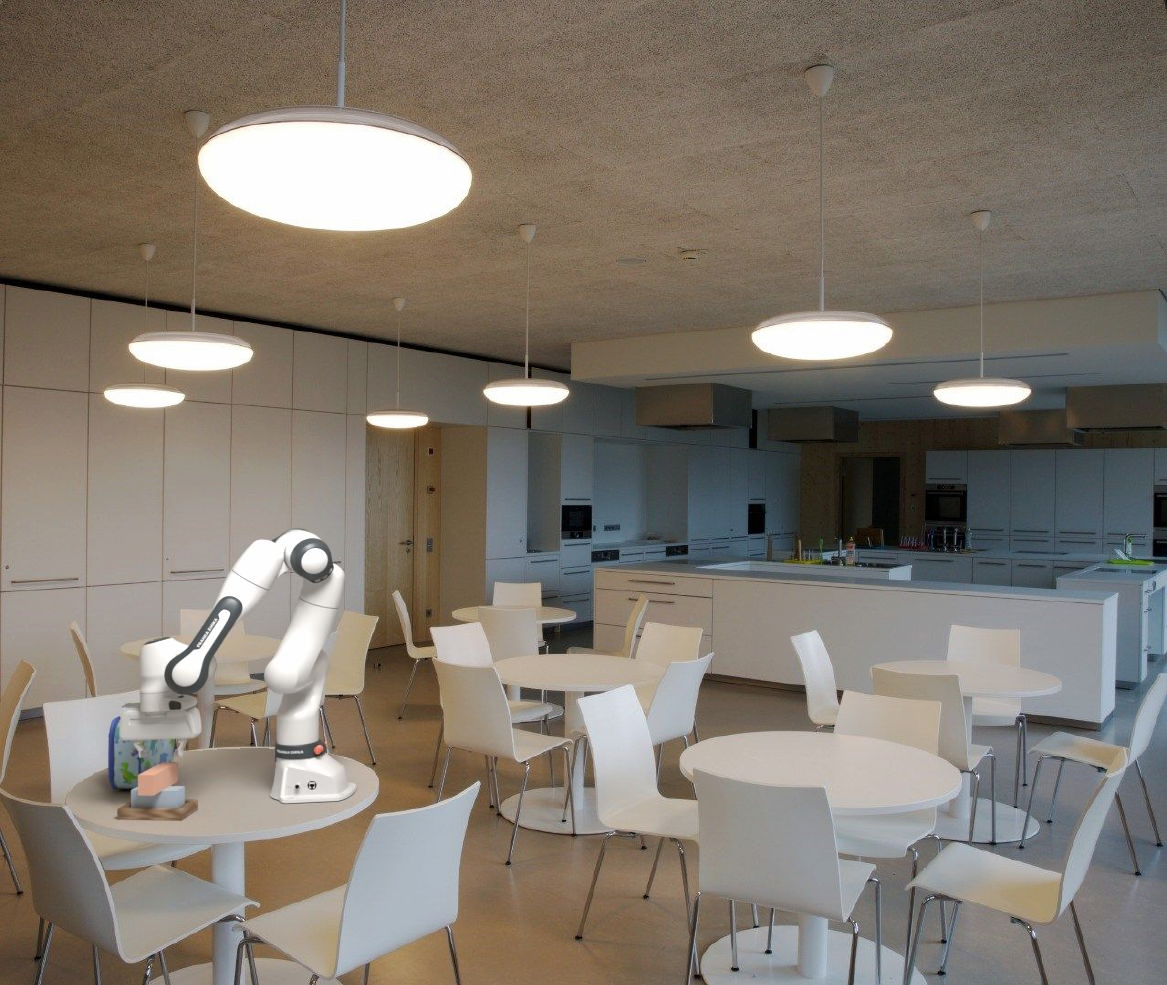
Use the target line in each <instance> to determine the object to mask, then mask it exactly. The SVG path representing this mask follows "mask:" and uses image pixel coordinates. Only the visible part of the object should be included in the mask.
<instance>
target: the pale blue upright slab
mask: <svg viewBox="0 0 1167 985" xmlns="http://www.w3.org/2000/svg"><path fill="white" fill-rule="evenodd" d="M185 799H186V786H184V785H182V786H181V785H171V786H169V787H168V788H166V789H164V790H162V791H161V792H159V793H157V794H156V795H154V796H144V795H138V787H136V788H134V789H130V802H131V807H150V808H179V807H181V806H182V805H184V804H185Z"/></svg>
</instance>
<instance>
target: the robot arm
mask: <svg viewBox="0 0 1167 985" xmlns="http://www.w3.org/2000/svg"><path fill="white" fill-rule="evenodd" d="M287 571H293V572H294V573H296V574H297V575H298V576H299V577H301V578H302V587H301V589H300V593H299V595H298V599H297V602H296V605H295V609H294V611H293V614H292V618H291V620H290V623H289V626H288V628H287V630H286V632H285V634H284V635H283V638H282V639H281V641H280V644H279V645H278V647H277V649H276V651H275V654H274V655H273V657H272V659H271V660H270V661H269V662H268V664H267V665H266V667H265V669H264V674H263V679H264V683H265V685H266V687H267V688H268V689H269V690H271V691H272V692H273V693H275V694H279V695H280V694H281V695H282V697H281V702H280V705H279V707H278V709H277V712H276V741H275V742H274V763H275V769H274V777H273V781H272V782H273V783H272V787H271V791H270V793H269V796H270V797H271V798H272V799H275V800H278V801H279V802H280V803H281V804H300V803H319V802H321V803H322V802H323V803H324V802H338V801H342V800H345V799H347V798H349V797H351V796H352V795H353V794H355V792H356V790H357V784H356V783H355V782H349V777H348V772H347V769H346V766H344V765H343V764H341V763H340V762H339V761H338V760H336V759H335V758H334V757H332V756H331V755H329V754H328V753H327V746H328V741H327V740H326V741H323V740H322V739H320V736H319V735H320V708H321V701H322V696H323V690H324V686H325V679H326V676H327V674H328V671H329V668H330V658H329V655H328V654H327V653H326V651H324V649H323V647H324V645H325V644H326V642H327V640H328V639H329V637H330V636H331V634H332V631H333V629H334V625H335V621H336V618H337V615H338V613H339V609H340V605H341V603H342V598H343V594H344V589H345V579H346V574H345V571H344V570H343V568H342V567H340V566H339V565H338V564H336V563H334V561H333V557H332V552H331V549H330V547H329V545H328V544H327V543H326V542H325V541H324V540H322V539H321V538H320V537H319V536H318V535H317V534H315V533H312V532H310V531H308V530H307V529H304V528H302V527H301V528H299V527H294V528H289V529H287V530H285V531H284V532H282V533H281V534H280V535H278V536H276V537H274V538H273V539H272V540H269V539H262V538H261V539H257V540H255V541H253V542H252V543H251V544H250V545H249V546H248V547H247V548H246V549H245V550H244V552H243V553H242V554H241V555H240V557H239V558H238V559H237V560H236V562H235V563H234V565H233V566H232V568H231V569H230V571H228V574H227V576H226V577H225V580H224V581H223V584H222V586H221V587H220V590H219V593H218V595H217V597H216V600H215V602H214V604H213V607H212V609H211V611H210V614H209V616H208V617H207V618H206V620H205V621H204V623H203V625H202V626H201V627H200V629H199V630H198V632H197V633H196V635H195V636H194V638H193V639H192V641H191V642H190V643H189V644H186V643H183V642H180V641H178V640H177V639H175V638H173V637H172V636H164V637H163V636H162V637H159V638H155V639H152V640H148V641H146V642H145V643H144V644H143V645H142V646H141V647H140V651H139V655H138V656H139V657H138V676H139V677H138V678H139V679H140V688H139V702H133V703H132V702H127V703H125V704H124V705H122V706H121V707H120V709H119V716H120V718H121V719H120V727H119V737H120V738H121V740H122V741H129V740H134V746H135V747H136V749H137V750H138V751H139V758H145V757H147V756H148V753H147V752H148V749H144V747H143V745H142V743H143V740H159V739H175V740H177V741H178V742H177V743H178V744H179V746H178V748H176V749H175V748H174V757H183V756H184V748H185V747H186V745H187V742H188V739H189V740H190V739H195V738H196V737H199V736H200V734H201V733H202V719H201V713H200V711H199V709H198V708H197V707H196V706H197V705H198V698H197V697H196V696H192V694H195V693H197V692H199V691H200V690H202V688H203V687H204V686H205V684H206V683H207V682H208V681H210V679H211V678H212V677H214V676H213V675H214V674H215V672H216V670H217V659H216V657H215V655H216V654H217V651H218V650H219V648H220V647H221V645H222V644H223V643H224V641H225V639H226V638H227V636H228V635H229V634H230V632H231V631H232V629H233V628H235V626H236V625H237V624H238V623H240V622H241V621H242V620H243V619H244V618H246V617H247V616H249V614H251V613H253V611H254V610H256V608H257V607H258V606H259V605H260V604H261V603H262V601H264V599H265V597H267V595H268V594H269V592H270V590H271V588H272V587H273V585H274V584H275V581H277V579H278V578H279V577H280V576H281V575H282V574H284V573H285V572H287Z"/></svg>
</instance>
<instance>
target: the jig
mask: <svg viewBox="0 0 1167 985" xmlns="http://www.w3.org/2000/svg"><path fill="white" fill-rule="evenodd" d="M198 803H199V800H198V799H197V798H196V799H195V798H194V799H193V798H185V804H184V805H182V806H181V807H179V808H150V807H131V801H129V802H127V803H125V804H124V805H122V806H120V807H118V808H117V810H116V813H117V815H116V819H129V820H131V821H132V820H133V821H135V820H136V821H137V820H138V821H140V820H141V821H183V820H185V819H186V818H188V816H191V815H192V814H193V813H194V812H197V810H199V804H198Z"/></svg>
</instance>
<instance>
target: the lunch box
mask: <svg viewBox="0 0 1167 985" xmlns="http://www.w3.org/2000/svg"><path fill="white" fill-rule="evenodd" d="M120 719H121V718H120V715H118V716H116V717H115V718H113V719H112V720H111V722H110V726H109V732H108V741H107V742H108V748H107V750H108V751H107V754H108V755H107V756H108V757H107V759H108V760H107V764H108V765H107V770H108V771H107V772H108V780H109V785H110V786H111V788H112V790H118V789H121V790H123V789H126V790H132V789H134V788H136V787H138V775H139V774H141V773H143V772H145V771H147V770H149V769H151V768H153V767H154V766H156V765H158V764H160V763H162V762H174V757H175V752H174V750H175V740H176V739H159V740H143V743H142V745H143V747H144V749H148V752H147V753H148V756H147V757H145V758H139V751H138V750H137V749H136V747H135V746H134V740H129V741H122V740H121V738H120V737H119V727H120Z"/></svg>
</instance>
